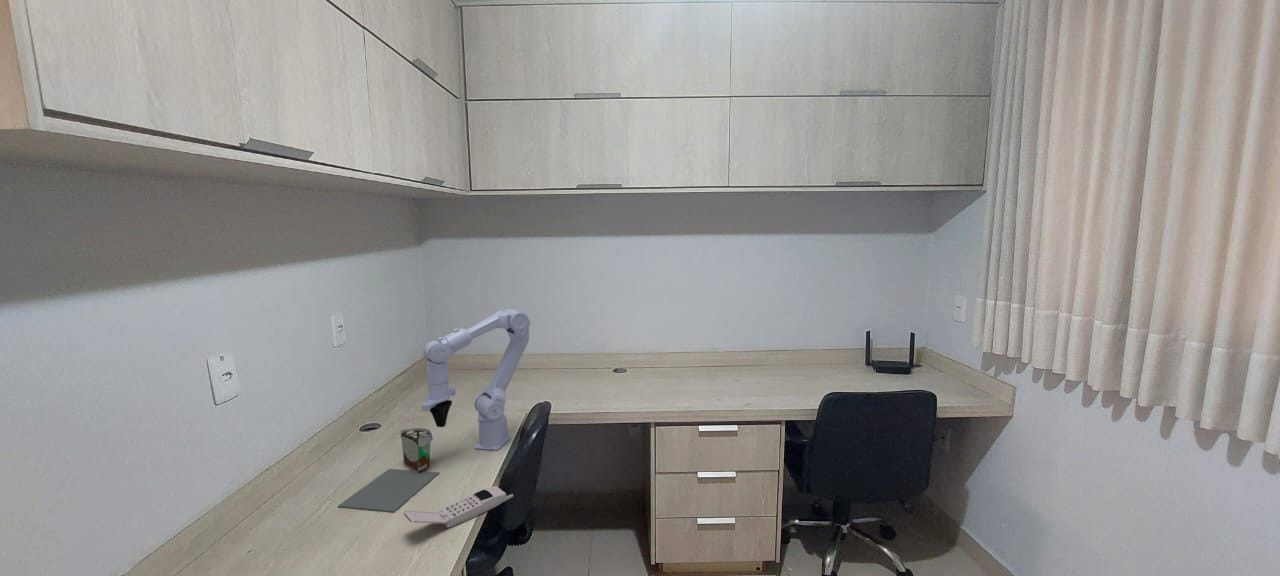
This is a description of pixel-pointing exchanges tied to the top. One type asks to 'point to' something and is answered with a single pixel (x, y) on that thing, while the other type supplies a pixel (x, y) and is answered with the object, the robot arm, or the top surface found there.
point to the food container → (416, 448)
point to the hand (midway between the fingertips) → (441, 426)
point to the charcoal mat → (389, 490)
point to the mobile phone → (462, 508)
